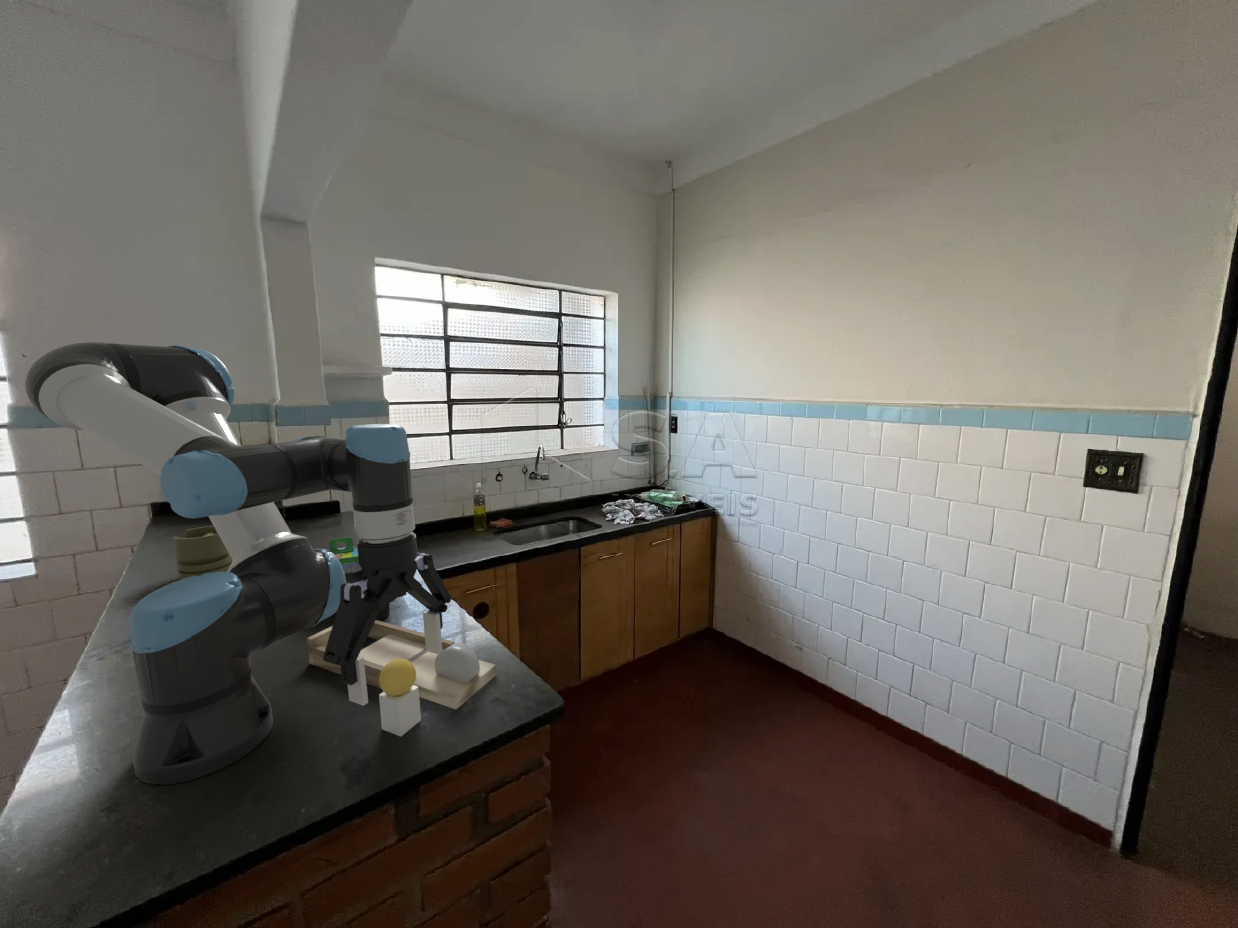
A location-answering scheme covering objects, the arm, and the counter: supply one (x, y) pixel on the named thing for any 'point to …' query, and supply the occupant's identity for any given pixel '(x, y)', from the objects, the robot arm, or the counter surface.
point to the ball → (397, 677)
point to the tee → (400, 711)
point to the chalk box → (346, 554)
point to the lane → (408, 647)
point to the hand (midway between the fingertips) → (399, 674)
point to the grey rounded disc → (457, 663)
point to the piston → (201, 552)
